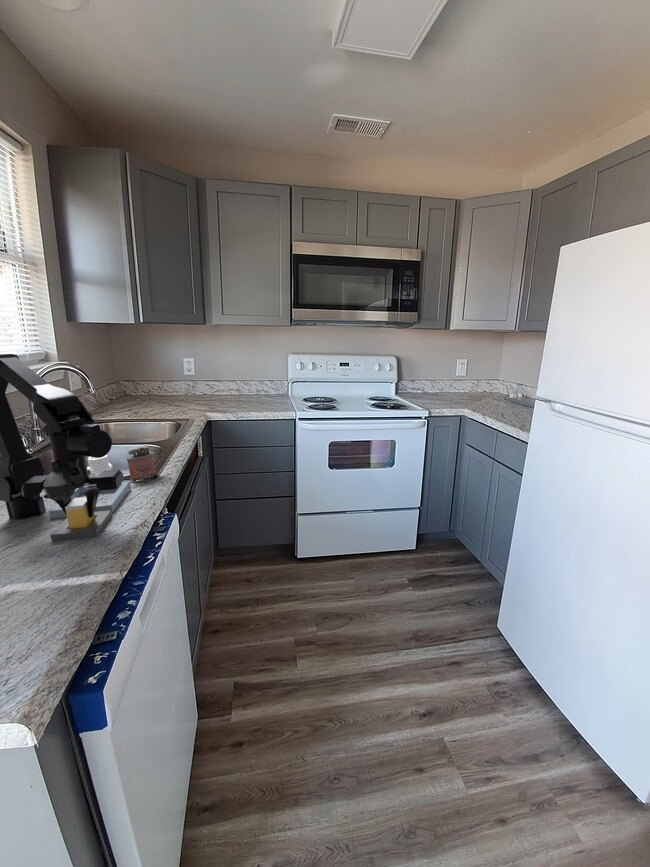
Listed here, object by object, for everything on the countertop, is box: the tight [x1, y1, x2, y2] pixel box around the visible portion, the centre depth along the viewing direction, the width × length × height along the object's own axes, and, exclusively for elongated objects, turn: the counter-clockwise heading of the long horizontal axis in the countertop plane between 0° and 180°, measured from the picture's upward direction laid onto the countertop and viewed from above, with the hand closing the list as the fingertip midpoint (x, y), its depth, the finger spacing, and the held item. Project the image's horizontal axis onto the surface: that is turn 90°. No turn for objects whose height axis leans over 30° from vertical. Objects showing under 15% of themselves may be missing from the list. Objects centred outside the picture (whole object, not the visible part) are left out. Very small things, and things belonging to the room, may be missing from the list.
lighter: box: [126, 445, 157, 481], centre depth 122 cm, size 8×3×10 cm, turn 141°
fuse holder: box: [50, 510, 113, 542], centre depth 91 cm, size 9×10×2 cm
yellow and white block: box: [65, 496, 95, 529], centre depth 90 cm, size 4×5×6 cm
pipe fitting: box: [87, 454, 114, 476], centre depth 121 cm, size 6×7×8 cm
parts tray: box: [48, 480, 132, 519], centre depth 105 cm, size 14×16×3 cm
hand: (81, 517), depth 90 cm, fingers open, 4 cm apart
